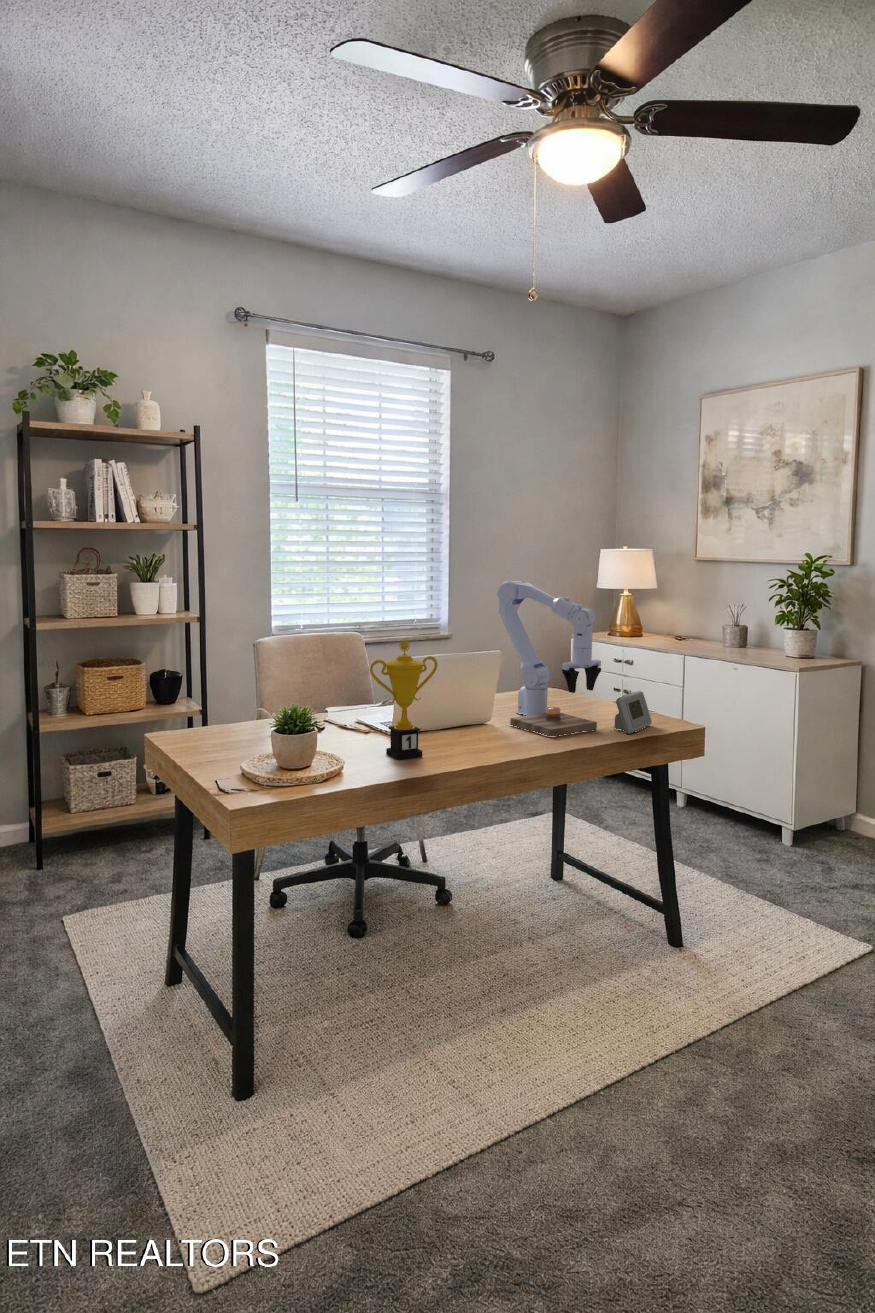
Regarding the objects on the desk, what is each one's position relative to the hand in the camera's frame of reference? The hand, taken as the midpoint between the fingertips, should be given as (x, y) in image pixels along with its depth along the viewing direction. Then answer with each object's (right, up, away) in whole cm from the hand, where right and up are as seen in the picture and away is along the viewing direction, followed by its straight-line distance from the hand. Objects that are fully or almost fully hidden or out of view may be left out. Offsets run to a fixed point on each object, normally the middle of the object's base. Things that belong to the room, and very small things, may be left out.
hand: (581, 691), depth 249 cm
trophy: (-53, -15, -41) cm, 69 cm away
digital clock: (+14, -11, -9) cm, 20 cm away
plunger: (-10, -11, -9) cm, 17 cm away
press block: (-10, -11, -9) cm, 17 cm away
